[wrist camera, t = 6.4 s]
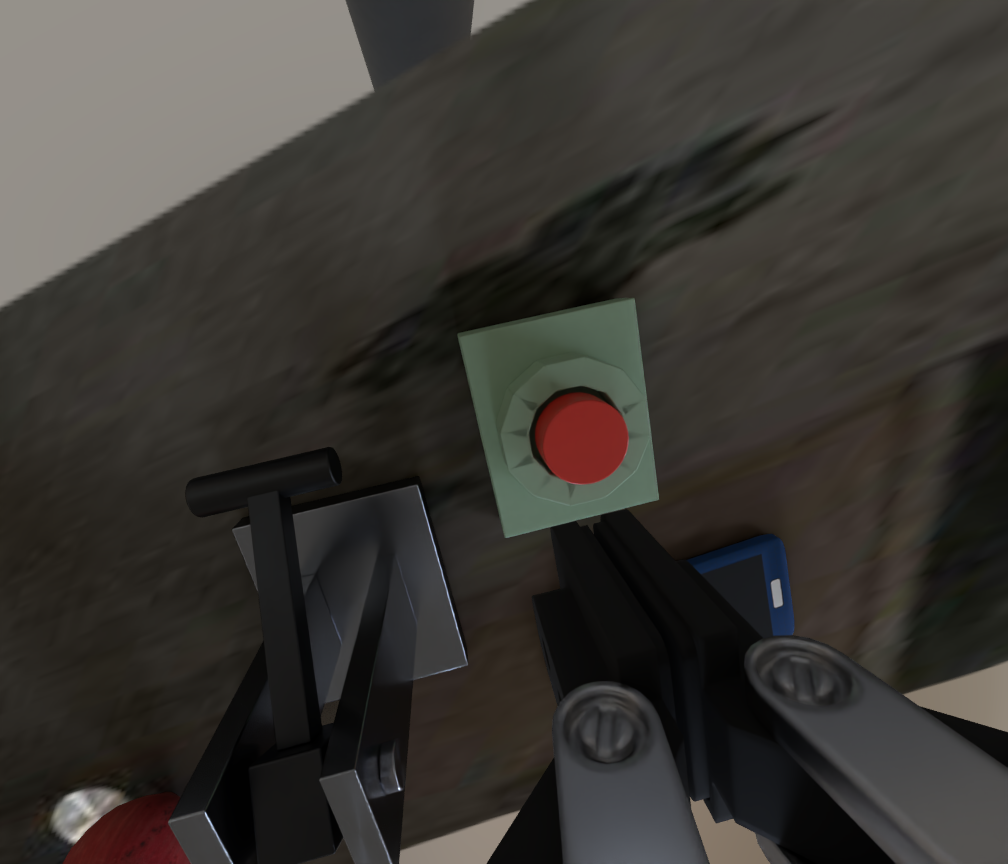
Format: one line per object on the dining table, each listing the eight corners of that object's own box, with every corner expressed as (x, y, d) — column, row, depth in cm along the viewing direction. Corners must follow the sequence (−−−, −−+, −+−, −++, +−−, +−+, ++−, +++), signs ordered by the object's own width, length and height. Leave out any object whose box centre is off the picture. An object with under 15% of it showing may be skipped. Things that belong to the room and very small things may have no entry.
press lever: (215, 483, 18) (173, 473, 16) (343, 453, 19) (320, 439, 16) (251, 840, 16) (207, 891, 13) (400, 797, 16) (383, 840, 14)
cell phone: (789, 629, 30) (798, 637, 29) (579, 701, 29) (583, 711, 28) (776, 528, 28) (785, 534, 27) (549, 604, 27) (552, 612, 26)
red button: (527, 402, 20) (535, 411, 18) (608, 383, 20) (623, 390, 19) (542, 479, 21) (551, 494, 19) (619, 460, 21) (634, 473, 20)
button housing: (457, 333, 23) (460, 339, 19) (617, 298, 23) (652, 296, 19) (500, 519, 25) (510, 557, 22) (642, 484, 26) (676, 515, 22)
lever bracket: (241, 517, 24) (24, 748, 11) (419, 475, 24) (395, 651, 12) (311, 690, 27) (200, 1020, 14) (467, 649, 27) (488, 931, 15)
